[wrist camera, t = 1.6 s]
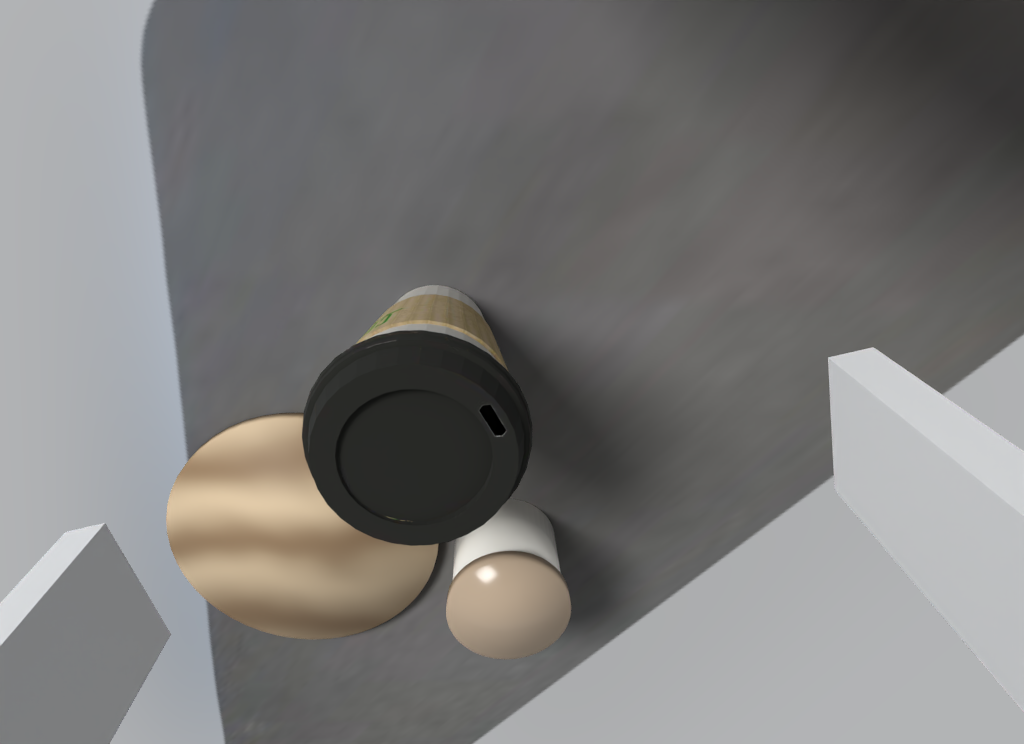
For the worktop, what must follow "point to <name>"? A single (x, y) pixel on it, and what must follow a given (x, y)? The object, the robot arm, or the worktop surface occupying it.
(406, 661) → the worktop surface
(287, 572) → the round wooden board
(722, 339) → the worktop surface
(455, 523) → the coffee cup
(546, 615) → the sugar jar
